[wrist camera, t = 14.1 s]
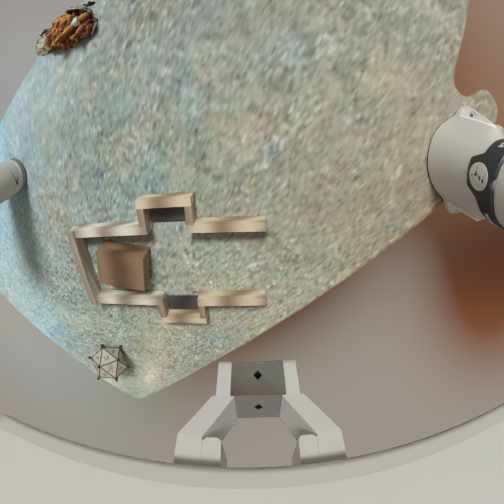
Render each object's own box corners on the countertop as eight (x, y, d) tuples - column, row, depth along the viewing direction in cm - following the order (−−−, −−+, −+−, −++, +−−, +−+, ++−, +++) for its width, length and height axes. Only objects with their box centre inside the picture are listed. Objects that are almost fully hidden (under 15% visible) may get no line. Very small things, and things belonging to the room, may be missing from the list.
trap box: (265, 189, 39) (267, 196, 37) (264, 313, 50) (265, 325, 48) (70, 202, 39) (60, 209, 36) (104, 310, 50) (98, 320, 48)
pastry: (37, 36, 24) (24, 34, 21) (95, -3, 23) (84, -8, 20) (42, 69, 28) (29, 69, 25) (102, 31, 26) (90, 28, 23)
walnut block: (150, 246, 44) (142, 259, 40) (151, 276, 47) (144, 291, 43) (105, 239, 43) (95, 252, 39) (109, 269, 46) (100, 283, 42)
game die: (113, 332, 59) (89, 338, 49) (142, 353, 58) (121, 364, 48) (100, 361, 58) (76, 370, 48) (127, 382, 57) (106, 395, 47)
